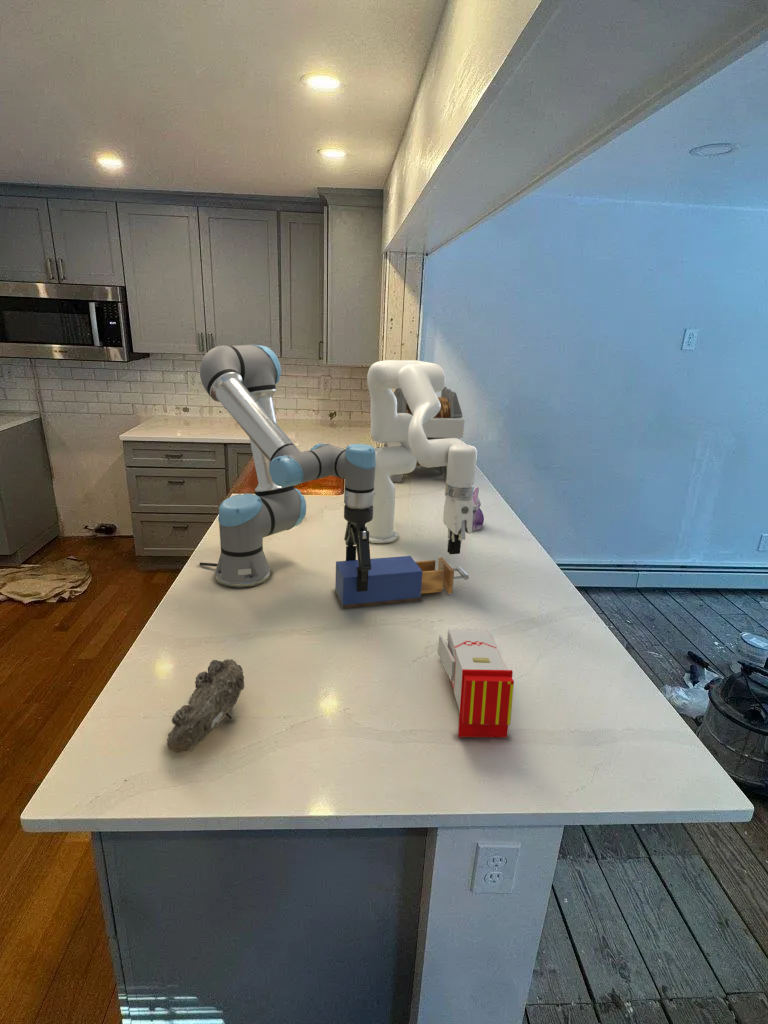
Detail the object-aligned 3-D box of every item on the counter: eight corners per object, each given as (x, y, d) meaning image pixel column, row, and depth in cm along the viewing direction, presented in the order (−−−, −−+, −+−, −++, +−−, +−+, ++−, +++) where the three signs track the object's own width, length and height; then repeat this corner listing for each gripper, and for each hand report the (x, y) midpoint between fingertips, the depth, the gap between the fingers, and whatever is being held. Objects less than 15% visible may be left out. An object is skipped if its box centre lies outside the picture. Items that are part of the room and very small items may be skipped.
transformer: (382, 463, 289) (386, 382, 275) (445, 464, 293) (451, 384, 279) (390, 482, 257) (394, 392, 243) (460, 483, 261) (468, 394, 247)
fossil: (192, 660, 117) (244, 628, 112) (224, 691, 120) (276, 661, 115) (142, 746, 98) (202, 712, 93) (182, 779, 101) (242, 748, 96)
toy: (488, 613, 130) (523, 677, 101) (484, 667, 133) (517, 744, 104) (435, 612, 130) (455, 676, 101) (432, 666, 133) (451, 743, 103)
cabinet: (408, 583, 164) (410, 555, 161) (420, 600, 155) (422, 571, 152) (335, 590, 158) (335, 561, 155) (342, 608, 149) (343, 577, 146)
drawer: (457, 577, 167) (459, 555, 165) (470, 591, 159) (472, 568, 157) (373, 585, 160) (374, 562, 158) (381, 600, 152) (383, 576, 150)
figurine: (469, 533, 203) (473, 493, 198) (453, 523, 211) (457, 485, 206) (490, 530, 207) (495, 490, 202) (474, 520, 215) (478, 482, 210)
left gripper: (386, 521, 135) (381, 600, 143) (361, 489, 158) (358, 558, 165) (355, 523, 133) (352, 602, 141) (335, 490, 156) (333, 560, 163)
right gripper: (484, 498, 147) (477, 563, 153) (461, 482, 160) (455, 541, 166) (457, 500, 145) (451, 565, 151) (436, 483, 158) (431, 543, 164)
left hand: (356, 579), depth 153 cm, fingers open, 13 cm apart
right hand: (453, 552), depth 158 cm, fingers closed
